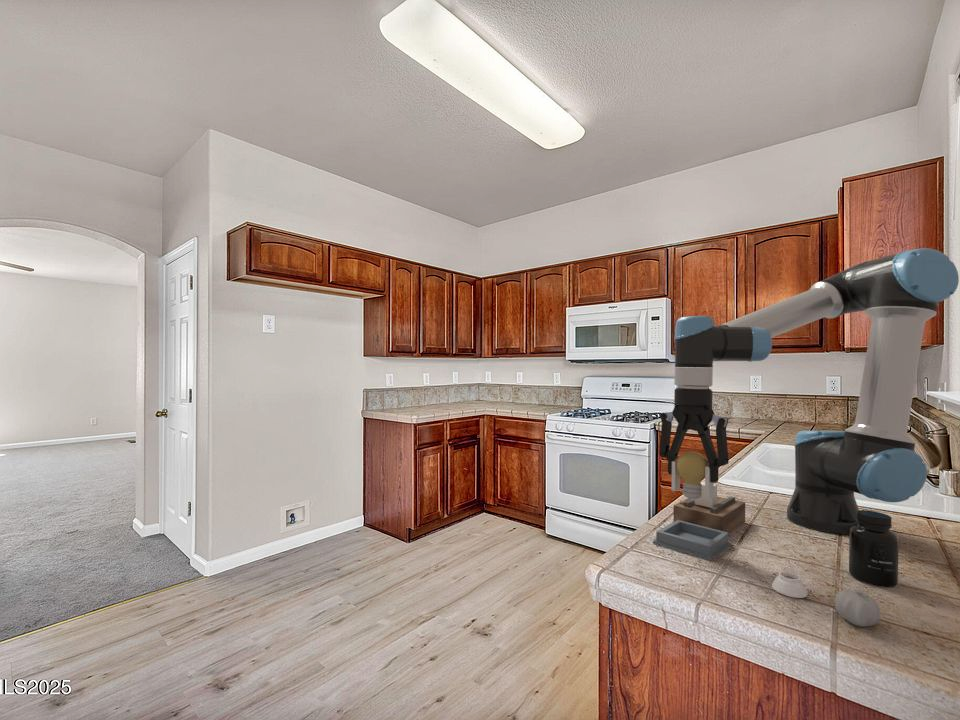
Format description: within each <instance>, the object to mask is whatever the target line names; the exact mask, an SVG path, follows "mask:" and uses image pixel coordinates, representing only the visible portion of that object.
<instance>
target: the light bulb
mask: <svg viewBox="0 0 960 720" xmlns="http://www.w3.org/2000/svg"><path fill="white" fill-rule="evenodd" d="M677 457H678V458H677V459H676V460H677V463H676V466H677V470H678V472H679V474H680V478H681V479H682V480H683V481H682V495H683V496H684V497H685V498H686V499H688V498H690V499H699V498H700V497H701V496H702V494H701V492H702V489H701V488H702V484H701V482H703V480H705V467H706V466H708V465H709V463H708V460H707V457H706V456H704V455H703V454H701V453H700V452H697V451H693V450H691V451H690V450H689V451H685V452H683V453H681V454H679V455H678V456H677Z"/></svg>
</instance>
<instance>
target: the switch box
mask: <svg viewBox="0 0 960 720" xmlns="http://www.w3.org/2000/svg"><path fill="white" fill-rule="evenodd" d="M676 520H680V521H684V522H688V523H692V524H696V525H700V526H704V527H708V528H712V529H716V530H719V531H723V532H727V533H729V535H731V534H732V533H733V532H734V531H735V530H737V529H738V528H739V527H741V526H742V525H744V524H745V523H746V502H745V501H740V500H736V497H735V496H732V495H731V496H729V497H722V496H717V505H715V506H713V507H711V508H710V507H705V506H701V505H696V504H695V499H690V498H685V499H684V500H683V499H682V500H679V502H678V503H675V504H673V522H674V521H676Z"/></svg>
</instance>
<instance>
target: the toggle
mask: <svg viewBox="0 0 960 720" xmlns="http://www.w3.org/2000/svg"><path fill="white" fill-rule="evenodd" d="M701 484H702V488H701V489H702V492H701V494H702V496H701V497H700V498H699V499H695V504H696V505H701V506H705V507H710V508H711V507H713V506H715V505H717V497H718V484H716V483H714V491H713V497H711V498H709V499H708V498H705V481H701Z"/></svg>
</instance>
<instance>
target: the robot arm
mask: <svg viewBox="0 0 960 720" xmlns="http://www.w3.org/2000/svg"><path fill="white" fill-rule="evenodd" d="M959 279H960V278H959V272H958V268H957V267H956V264H955V263H954V262H953V261H951V260H950V257H949V256H947V255H946V254H945V253H944V252H942V251H940V250H938V249H935V248H927V247H922V248H916V249H911V250H909V249H907V250H903V251H900V252H898V253H895V254H891V255H888V256H887V255H886V256H883V257H880V258H875V259H871V260H867V261H864V262H860V263H858V264H855V265H853V266H851V267H848V268H846V269H844V270H841V271H840V272H837V273H836V274H833V275H831V276H829V277H827V278H825V279H822V280H820V281H818V282H815V283H813V284H812V285H811V287H810V289H808V290H806V291H803V292H801V293H798V294H796V295H794V296H790V297H788V298H786V299H783V300H781V301H778V302H776V303H772V304H771V305H768V306H765V307H763V308H761V309H758V310H755V311H753V312H749V313H748V314H745V315H743V316H740V317H737V318H736V319H732V320H729V321H727V322H725V323H723V324H722V323H721V324H720V325H715V323H714V318H713V317H711V316H708V315H707V316H706V315H690V316H688V315H687V316H682V317H680V318H678V319H677V320H676V322H675V329H674V338H673V339H674V385H675V386H677V387H675V388H674V394H673V395H674V397H673V398H674V400H673V401H674V407H673V410H672V411H669V412H668V411H667V412H666V411H665V412H661V413H660V414H659V415H660V421H661V429H660V443H659V451H658V453H659V456H660V457H663V458H665V459H667V473H668V475H670V476H671V491H672V492H677V491H680V490H681V475H680V474H679V472H678V470H677V466H676V463H677V459H678V457H679V453H680V450H681V447H682V445H683V442H684V439H685V436H686V434H687V432H688V431H693V432H697V434H698V436H699V438H700V441H701V444H702V448H703V450H704V453H705V458H706V459H707V461H708V466H706V467H705V478H704V482H705V498H708V499H709V498H711V497H713V491H714V484H716V483H717V482H718V481H719V470H720V469H719V467H723V466H726V465H728V464H729V449H728V436H727V427H728V423H729V418H728V417H726V416H725V417H724V416H723V417H721V416H719V415H716V414H715V412H714V410H713V390H712V388H710V387H712V386H713V381H714V380H713V377H714V376H713V373H714V372H713V370H714V369H713V368H714V362H748V363H751V362H762V361H764V360H766V359H767V358H768V357H769V355H770V354H771V351H772V349H773V345H772V344H773V343H772V342H773V338H775V337H778V336H779V335H783V334H785V333H787V332H790V331H793V330H796V329H797V328H801V327H803V326H806V325H808V324H810V323H812V322H817V321H818V320H821V319H823V318H826V319H834V318H837V317H840V316H842V315H846V314H852V313H857V312H859V313H860V312H864V313H865V314H866V315H867V316H868V317H869V318H870V319H871V325H870V331H869V337H868V341H867V348H866V354H865V360H864V367H863V373H862V378H861V384H860V391H859V397H858V403H857V408H856V415H855V420H854V423H853V425H851V426H850V427H847V428H846V429H844V430H840V431H839V430H800V431H798V432H797V433H796V435H795V442H794V452H795V453H794V454H795V456H794V459H795V461H794V463H795V464H794V465H795V468H794V471H795V473H794V474H795V478H794V479H795V480H794V482H795V483H794V484H795V486H794V490H793V493H792V495H791V498H790V501H789V503H788V505H787V508H786V518H787V519H788V520H789V521H791V522H792V523H793V524H797V525H798V526H801V527H805V528H808V529H812V530H816V531H820V532H826V533H831V534H832V533H833V534H841V535H849V534H850V528H851V527H852V526H853V525H855V524H858V522H857V521H856V518H857V511H858V510H860V508H859V506H858V503H857V500H856V498H855V497H856V496H855V493H857V494H859V495H862V496H865V497H866V498H868V499H871V500H877V501H882V502H885V503H900V502H904V501H907V500H909V499H910V498H912V497H914V496H916V495H917V494H918V493H920V492H921V490H922V488H923V487H924V486H925V483H926V480H927V476H928V469H927V465H926V464H925V463H924V459H923V458H922V457H921V456H920V455H919V454H918V453H916V452H915V448H916V447H915V446H916V441H915V440H914V439H913V438H912V437H911V436H910V435H909V434H908V428H909V427H908V426H909V423H910V415H911V411H912V410H911V408H912V404H913V398H914V392H915V386H916V381H917V380H916V378H917V373H918V367H919V361H920V355H921V350H922V343H923V337H924V330H925V325H926V322H927V321H929V320H930V319H932V318H933V317H936V316H937V312H938V307H939V303H941V302H943V301H945V300H946V299H949V298H950V297H951V295H954V294H955V292H956V291H957V289H958V286H959ZM674 419H675V421H676V422H677V426H676V428H675V429H676V430H675V434H674V437H673V440H672V442H671V436H672V427H673V426H672V425H673V420H674ZM712 422H713V426H714V427H715V437H716V449H715V446H714V444H713V440H712V437H711V434H710V433H711V432H710V428H709V425H710V423H712ZM670 444H671V445H670ZM716 450H717V452H716Z"/></svg>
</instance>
